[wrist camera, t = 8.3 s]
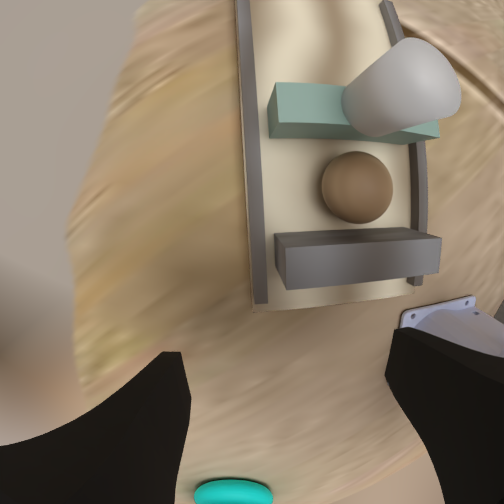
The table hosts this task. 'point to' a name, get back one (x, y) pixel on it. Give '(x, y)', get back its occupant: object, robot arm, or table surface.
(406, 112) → the sliding jaw
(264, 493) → the donuts
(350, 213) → the walnut
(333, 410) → the table surface
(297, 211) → the base
